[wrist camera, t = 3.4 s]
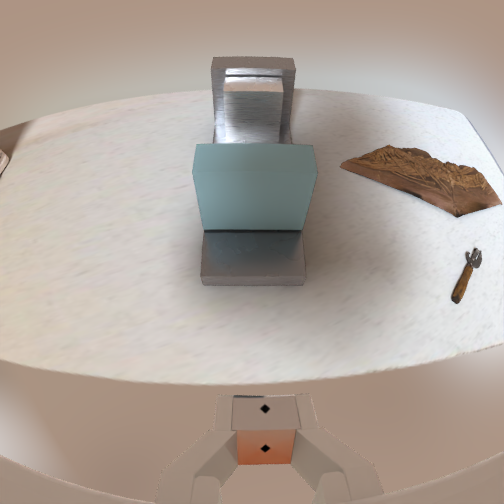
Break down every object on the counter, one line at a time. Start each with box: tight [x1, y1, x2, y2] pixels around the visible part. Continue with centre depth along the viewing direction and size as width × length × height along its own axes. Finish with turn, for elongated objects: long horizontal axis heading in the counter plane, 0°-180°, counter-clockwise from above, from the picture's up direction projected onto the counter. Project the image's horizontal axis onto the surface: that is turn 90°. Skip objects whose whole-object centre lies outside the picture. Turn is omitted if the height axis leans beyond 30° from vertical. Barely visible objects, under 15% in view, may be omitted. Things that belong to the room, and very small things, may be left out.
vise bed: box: [201, 57, 306, 286], centre depth 30 cm, size 24×9×10 cm, turn 0°
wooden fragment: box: [340, 145, 502, 218], centre depth 36 cm, size 26×11×1 cm, turn 80°
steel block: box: [223, 77, 284, 142], centre depth 33 cm, size 3×6×7 cm, turn 90°
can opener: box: [452, 248, 482, 304], centre depth 30 cm, size 9×2×1 cm, turn 131°
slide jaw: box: [192, 143, 318, 230], centre depth 26 cm, size 3×9×8 cm, turn 90°
